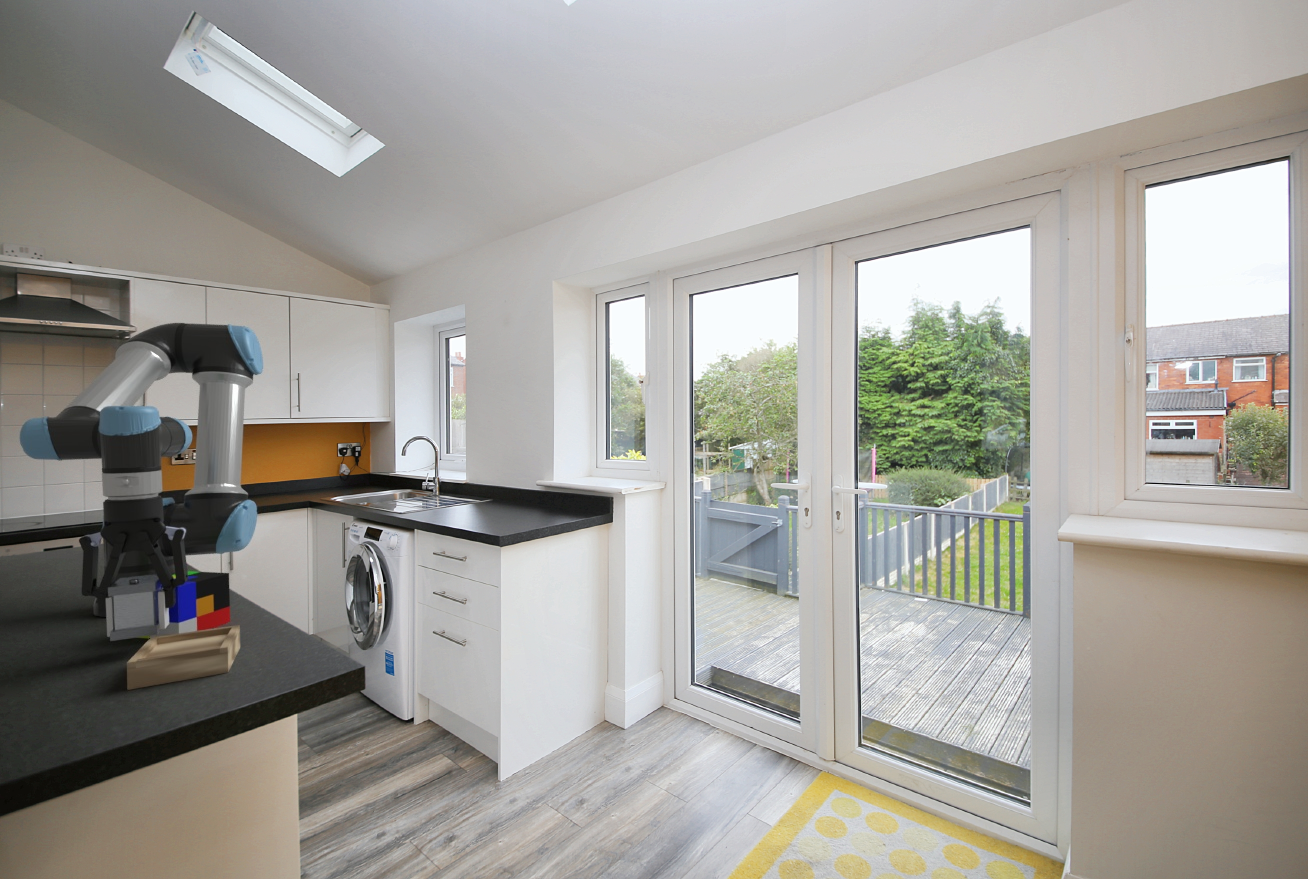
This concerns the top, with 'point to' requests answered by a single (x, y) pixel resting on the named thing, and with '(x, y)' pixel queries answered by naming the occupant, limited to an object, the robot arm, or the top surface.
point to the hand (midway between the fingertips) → (139, 629)
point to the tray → (183, 656)
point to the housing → (135, 607)
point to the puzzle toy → (199, 604)
